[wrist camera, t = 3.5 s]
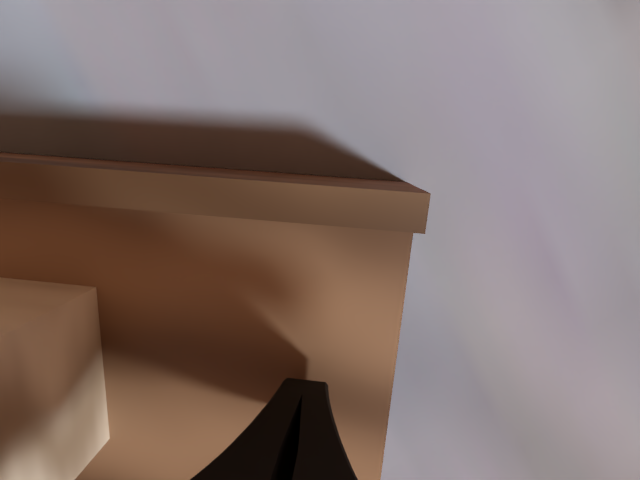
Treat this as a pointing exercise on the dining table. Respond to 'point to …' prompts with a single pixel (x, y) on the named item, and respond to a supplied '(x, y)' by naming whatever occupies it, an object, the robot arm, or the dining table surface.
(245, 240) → the brown tray with rims
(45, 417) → the cream block
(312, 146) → the dining table surface
